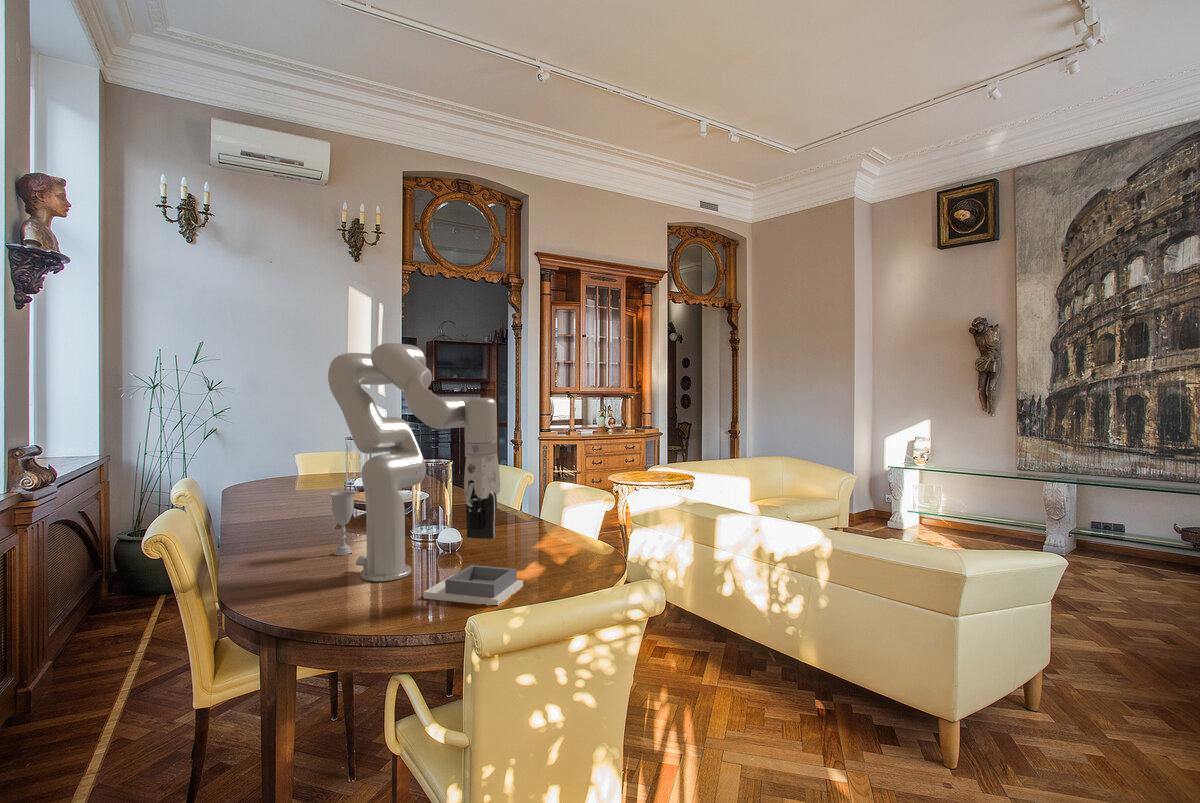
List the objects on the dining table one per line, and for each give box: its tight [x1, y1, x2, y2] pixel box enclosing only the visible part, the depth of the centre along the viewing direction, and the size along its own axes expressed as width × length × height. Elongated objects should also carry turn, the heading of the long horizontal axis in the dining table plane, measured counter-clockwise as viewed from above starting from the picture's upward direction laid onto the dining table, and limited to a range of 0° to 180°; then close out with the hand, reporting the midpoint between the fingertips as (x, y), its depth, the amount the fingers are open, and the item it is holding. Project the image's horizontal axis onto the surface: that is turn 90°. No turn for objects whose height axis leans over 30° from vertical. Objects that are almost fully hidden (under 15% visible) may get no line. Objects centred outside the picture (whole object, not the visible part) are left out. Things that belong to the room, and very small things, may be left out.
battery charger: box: [465, 492, 498, 540], centre depth 142 cm, size 7×4×11 cm, turn 81°
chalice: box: [329, 490, 356, 554], centre depth 177 cm, size 7×7×18 cm
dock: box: [422, 564, 524, 606], centre depth 143 cm, size 19×14×4 cm
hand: (481, 525), depth 142 cm, fingers closed on battery charger, 4 cm apart
